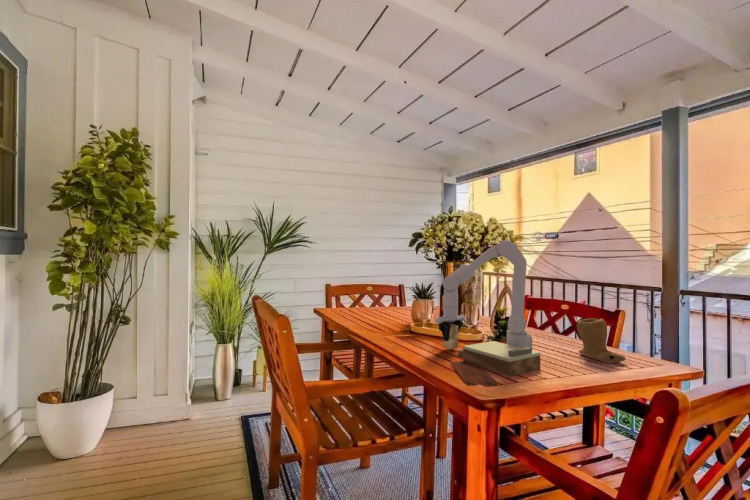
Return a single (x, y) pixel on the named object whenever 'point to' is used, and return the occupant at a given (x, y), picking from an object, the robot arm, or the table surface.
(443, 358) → the table surface
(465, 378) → the wooden tablet
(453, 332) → the beige tall block
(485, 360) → the shallow rectangular box
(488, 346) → the lid
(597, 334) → the brown suede boot
